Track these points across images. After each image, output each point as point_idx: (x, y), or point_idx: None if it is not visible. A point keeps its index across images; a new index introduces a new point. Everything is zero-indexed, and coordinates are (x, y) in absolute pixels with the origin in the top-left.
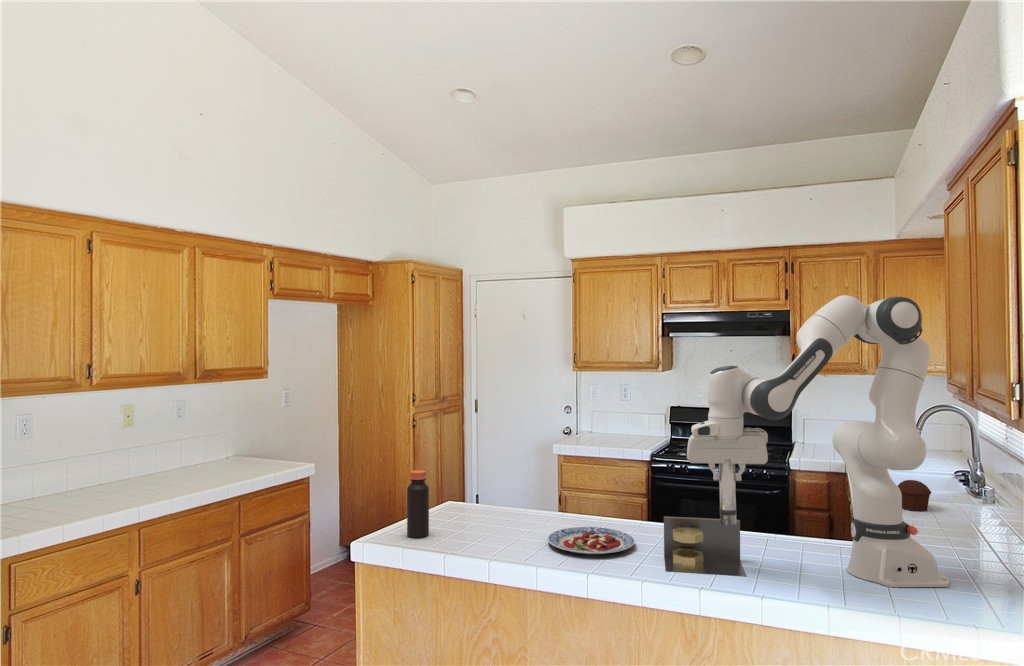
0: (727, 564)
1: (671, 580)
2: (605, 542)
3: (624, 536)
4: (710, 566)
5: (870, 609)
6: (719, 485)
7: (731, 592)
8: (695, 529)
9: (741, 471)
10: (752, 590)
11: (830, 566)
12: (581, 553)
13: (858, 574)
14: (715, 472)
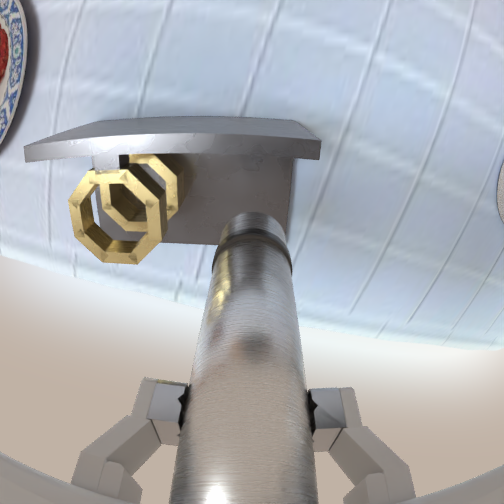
0: (252, 166)
1: None
2: None
3: (11, 18)
4: (203, 188)
5: (431, 327)
6: (194, 358)
7: None
8: (136, 191)
9: (351, 468)
10: None
11: (488, 134)
12: None
13: (501, 206)
14: (152, 452)
